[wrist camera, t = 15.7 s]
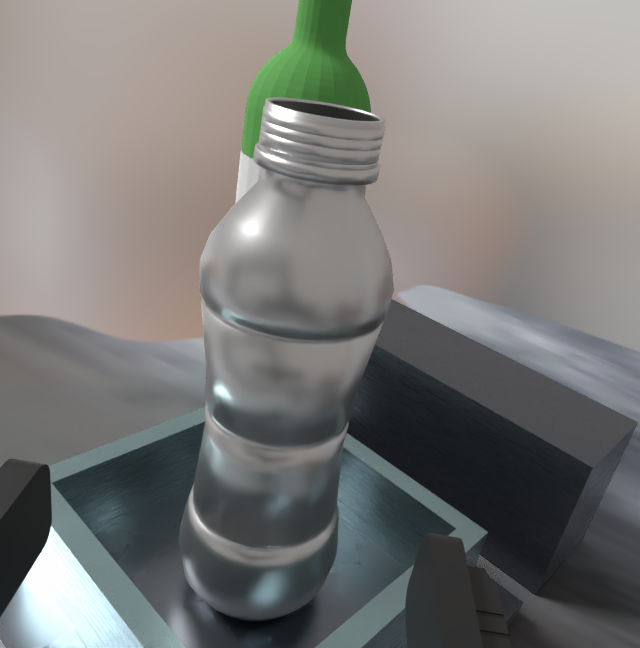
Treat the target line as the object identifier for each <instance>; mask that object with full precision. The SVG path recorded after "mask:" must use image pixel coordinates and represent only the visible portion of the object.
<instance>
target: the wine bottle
mask: <svg viewBox="0 0 640 648" xmlns="http://www.w3.org/2000/svg"><path fill="white" fill-rule="evenodd" d="M351 3H352V0H299V4H298V11H297V18H296V26H295V32H294V36H293V39H292V41H291V43H290V44H289V45H288V46H287V47H286V48H285V49H283V50H282V51H280V52H279V53H277V54H276V55H275V56H273V57H272V58H271V59H270V60H269V61H268V62H267V63H266V64H265V65H264V66H263V67H262V69H261V70H260V71H259V73H258V74H257V76H256V78H255V80H254V82H253V84H252V86H251V89H250V91H249V95H248V98H247V104H246V111H245V120H244V130H243V139H242V149H241V155H240V164H239V165H240V166H239V174H238V183H237V193H236V202H237V201H238V200H239V199H240V198H241V197H242V196H243V195H244V194H245V193H246V192H247V191H248V190H249V189H250V188H251V187H253V186H254V185H255V184H256V183H257V182H258V181H259V177H260V174H261V171H262V167H260V166H259V165H257V164H256V163H255V162H254V160H253V157H254V149H255V145H256V143H258V142H259V137H260V129H261V122H262V114H263V106H265V101H266V99H267V98H274V97H282V98H296V99H305V100H313V101H319V102H325V103H331V104H336V105H342V106H346V107H351V108H355V109H359V110H363V111H367V112H370V113H371V108H370V101H369V95H368V92H367V88H366V86H365V83H364V81H363V79H362V77H361V75H360V73H359V72H358V70H357V68H356V67H355V65H354V64H353V63H352V62H351V60H350V59H349V57H348V56H347V53H346V49H345V48H346V47H345V44H346V35H347V28H348V22H349V16H350V9H351Z"/></svg>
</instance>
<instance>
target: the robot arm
mask: <svg viewBox="0 0 640 648" xmlns="http://www.w3.org/2000/svg"><path fill="white" fill-rule="evenodd" d="M51 524H52V503H51V479H50V469H49V466H48V465H46V464H40V463H35V462H29V461H23V460H17V459H9V460H7V461H6V462H5V463H4V464H3V465H2V466H1V468H0V617H1V616H2V614H3V612H4V611H5V609H6V608H7V606H8V604H9V603H10V601H11V600H12V598H13V596H14V595H15V593H16V592H17V590H18V588H19V587H20V585H21V584H22V582H23V580H24V579H25V577H26V576H27V574H28V572H29V571H30V569H31V568H32V566H33V564H34V563H35V561H36V560H37V558H38V556H39V555H40V553H41V552H42V550H43V548H44V546H45V544H46V542H47V539H48V537H49V533H50V530H51ZM405 617H406V632H407V648H512V645H511V640H510V639H509V632H508V628H507V623H506V619H504V611H503V606H502V602H501V598H500V594H499V590H498V589H497V587H496V586H495V584H494V583H493V581H492V580H491V578H490V577H489V575H488V574H487V572H486V571H485V569H484V568H478V567H473V566H468V565H467V560H466V554H465V549H464V544H463V541H462V539H461V538H458V537H452V536H446V535H440V534H435V533H429V532H426V533H425V534H424V536H423V538H422V541H421V544H420V548H419V551H418V554H417V557H416V560H415V563H414V566H413V570H412V573H411V576H410V579H409V582H408V587H407V593H406V602H405Z"/></svg>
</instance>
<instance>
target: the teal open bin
mask: <svg viewBox="0 0 640 648" xmlns="http://www.w3.org/2000/svg"><path fill="white" fill-rule="evenodd" d="M637 424H638V422H636V421H634V420H632V419H630V418H628V417H626V416H624V415H622V414H620V413H618V412H616V411H614V410H612V409H610V408H608V407H606V406H604V405H602V404H600V403H598V402H596V401H594V400H592V399H590V398H588V397H586V396H584V395H582V394H580V393H578V392H576V391H574V390H572V389H570V388H568V387H566V386H564V385H562V384H560V383H558V382H556V381H554V380H552V379H550V378H548V377H546V376H544V375H542V374H540V373H538V372H536V371H534V370H532V369H530V368H528V367H526V366H524V365H522V364H520V363H518V362H516V361H514V360H512V359H510V358H508V357H506V356H504V355H502V354H500V353H498V352H496V351H494V350H492V349H490V348H488V347H486V346H484V345H482V344H480V343H478V342H476V341H474V340H472V339H470V338H468V337H466V336H464V335H462V334H460V333H458V332H456V331H454V330H452V329H450V328H448V327H446V326H444V325H442V324H440V323H438V322H436V321H434V320H432V319H430V318H428V317H426V316H424V315H422V314H420V313H418V312H416V311H414V310H412V309H410V308H408V307H406V306H404V305H402V304H400V303H398V302H396V301H394V300H392V299H391V302H390V305H389V309H388V312H387V315H386V318H385V320H384V322H383V325H382V327H381V330H380V333H379V335H378V338H377V340H376V343H375V345H374V348H373V351H372V353H371V356H370V358H369V361H368V363H367V366H366V369H365V371H364V374H363V376H362V379H361V382H360V385H359V389H358V393H357V396H356V400H355V404H354V407H353V411H352V414H351V417H350V419H349V426H348V429H347V433H346V436H345V440H344V444H343V451H342V460H341V470H340V479H339V488H338V497H337V503H338V514H339V524H338V544H337V554H336V557H335V560H334V563H333V565H332V567H331V570H330V572H329V574H328V576H327V578H326V580H325V582H324V584H323V586H322V587H321V589H320V590H319V592H318V594H317V595H316V596H315V597H314V598H313V599H312V600H311V601H310V602H309V603H307V604H305V605H304V606H302V607H301V608H299V609H298V610H296V611H293V612H291V613H289V614H287V615H284V616H282V617H279V618H276V619H271V620H266V621H248V620H241V619H236V618H233V617H230V616H227V615H225V614H223V613H221V612H219V611H217V610H215V609H214V608H213V607H212V606H210V605H209V604H208V603H206V602H205V601H204V600H203V599H202V598H200V597H199V596H198V595H197V594H196V592H195V591H194V590H193V589H192V587H191V586H190V584H189V582H188V580H187V578H186V576H185V573H184V568H183V563H182V557H181V551H180V545H179V532H180V526H181V522H182V518H183V514H184V510H185V506H186V503H187V500H188V497H189V495H190V492H191V489H192V486H193V484H194V480H195V475H196V469H197V464H198V459H199V453H200V448H201V443H202V437H203V432H204V427H205V407H203V408H201V409H198V410H195V411H193V412H190V413H187V414H185V415H182V416H179V417H177V418H174V419H172V420H169V421H166V422H164V423H161V424H158V425H156V426H153V427H151V428H148V429H145V430H143V431H140V432H137V433H135V434H132V435H129V436H127V437H124V438H122V439H119V440H116V441H114V442H111V443H108V444H106V445H103V446H100V447H98V448H95V449H93V450H90V451H87V452H85V453H82V454H79V455H77V456H74V457H72V458H69V459H66V460H64V461H61V462H58V463H56V464H53V465H50V466H49V469H50V479H51V503H52V524H51V530H50V533H49V537H48V539H47V542H46V544H45V546H44V548H43V550H42V552H41V553H40V555H39V556H38V558H37V560H36V561H35V563H34V564H33V566H32V568H31V569H30V571H29V572H28V574H27V576H26V577H25V579H24V580H23V582H22V584H21V585H20V587H19V588H18V590H17V592H16V593H15V595H14V596H13V598H12V600H11V601H10V603H9V604H8V606H7V608H6V609H5V611H4V612H3V614H2V616H1V617H0V638H1V640H2V642H3V643H4V645H5V647H6V648H407V632H406V617H405V602H406V593H407V587H408V582H409V579H410V576H411V573H412V570H413V566H414V563H415V560H416V557H417V554H418V551H419V548H420V544H421V541H422V538H423V536H424V534H425V533H426V532H429V533H435V534H440V535H446V536H452V537H458V538H461V539H462V541H463V544H464V549H465V554H466V560H467V565H468V566H473V567H475V566H476V563H477V560H478V558H479V555H482V556H483V557H484V558H486V559H487V560H489V561H490V562H491V563H493V564H494V565H495V566H497V567H498V568H499V569H501V570H502V571H504V572H505V573H506V574H508V575H509V576H510V577H512V578H513V579H515V580H516V581H517V582H519V583H520V584H521V585H523V586H524V587H525V588H527V589H528V590H530V591H531V592H532V593H534V594H535V595H536V593H537V592H538V591H539V590H540V589H541V587H542V586H543V585H544V584H545V583H546V582H547V580H548V579H549V578H550V577H551V576H552V575H553V573H554V572H555V571H556V570H557V569H558V567H559V566H560V565H561V564H562V563H563V562H564V560H565V559H566V558H567V557H568V556H569V554H570V553H571V552H572V551H573V550H574V549H575V547H576V546H577V545H578V544H579V543H580V542H581V540H582V539H583V537H584V535H585V533H586V531H587V529H588V527H589V525H590V523H591V521H592V518H593V516H594V514H595V512H596V510H597V508H598V506H599V504H600V502H601V499H602V497H603V495H604V493H605V491H606V489H607V487H608V485H609V483H610V481H611V478H612V476H613V474H614V472H615V470H616V468H617V466H618V464H619V462H620V459H621V457H622V455H623V453H624V451H625V449H626V447H627V445H628V443H629V440H630V438H631V436H632V434H633V432H634V430H635V428H636V426H637ZM491 580H492V579H491ZM492 581H493V583H494V584H495V586H496V587H497V589H498V590H499V594H500V598H501V602H502V606H503V611H504V619H506V623H507V628H508V626H509V625H510V624H511V623H512V622H513V620H514V619H515V618H516V617H517V615H518V612H519V610H520V608H521V606H522V603H523V602H522V601H520V600H519V599H518V598H516V597H515V596H514V595H512V594H511V593H510V592H508V591H507V590H506V589H504V588H503V587H502V586H500V585H499V584H498V583H496V582H495V581H494V580H492Z"/></svg>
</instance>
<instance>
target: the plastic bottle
mask: <svg viewBox="0 0 640 648" xmlns="http://www.w3.org/2000/svg"><path fill="white" fill-rule="evenodd" d="M385 121H386V120H385V119H384V118H383V117H381V116H379V115H376V114H373V113H370V112H367V111H363V110H359V109H355V108H351V107H346V106H342V105H336V104H331V103H325V102H319V101H313V100H305V99H296V98H282V97H274V98H267V99H266V101H265V106H263V114H262V122H261V129H260V137H259V142H258V143H256V145H255V149H254V157H253V160H254V162H255V163H256V164H257V165H259V166H260V167H262V171H261V174H260V177H259V181H258V182H257V183H256V184H255V185H254V186H253V187H251V188H250V189H249V190H248V191H247V192H246V193H245V194H244V195H243V196H242V197H241V198H240V199H239V200H238V201H237V202H236V203H235V204H234V205H233V206H232V208H231V209H230V210H229V211H228V213H227V214H226V215H225V216H224V217H223V219H222V220H221V221H220V222H219V224H218V225H217V226H216V227H215V229H214V230H213V231H212V232H211V234H210V236H209V239H208V241H207V244H206V246H205V248H204V251H203V253H202V256H201V258H200V292H201V309H202V320H203V333H204V345H205V356H206V395H205V399H206V403H205V427H204V432H203V437H202V443H201V448H200V453H199V459H198V464H197V469H196V475H195V480H194V484H193V486H192V489H191V492H190V495H189V497H188V500H187V503H186V506H185V510H184V514H183V518H182V522H181V526H180V532H179V545H180V551H181V557H182V563H183V568H184V573H185V576H186V578H187V580H188V582H189V584H190V586H191V587H192V589H193V590H194V591H195V592H196V594H197V595H198V596H199V597H200V598H202V599H203V600H204V601H205V602H206V603H208V604H209V605H210V606H212V607H213V608H214V609H215V610H217V611H219V612H221V613H223V614H225V615H227V616H230V617H233V618H236V619H241V620H248V621H266V620H271V619H276V618H279V617H282V616H284V615H287V614H289V613H291V612H293V611H296V610H298V609H299V608H301V607H302V606H304V605H305V604H307V603H309V602H310V601H311V600H312V599H313V598H314V597H315V596H316V595H317V594H318V592H319V590H320V589H321V587H322V586H323V584H324V582H325V580H326V578H327V576H328V574H329V572H330V570H331V567H332V565H333V563H334V560H335V557H336V554H337V544H338V524H339V514H338V503H337V497H338V488H339V479H340V470H341V460H342V451H343V444H344V440H345V436H346V433H347V429H348V426H349V419H350V417H351V414H352V411H353V407H354V404H355V400H356V396H357V393H358V389H359V385H360V382H361V379H362V376H363V374H364V371H365V369H366V366H367V363H368V361H369V358H370V356H371V353H372V351H373V348H374V345H375V343H376V340H377V338H378V335H379V333H380V330H381V327H382V325H383V322H384V320H385V318H386V315H387V312H388V309H389V305H390V302H391V299H392V295H393V292H394V286H393V273H392V263H391V258H390V255H389V252H388V249H387V246H386V244H385V241H384V238H383V235H382V232H381V230H380V228H379V226H378V224H377V222H376V219H375V217H374V215H373V213H372V211H371V209H370V207H369V205H368V203H367V201H366V198H365V190H366V185H367V184H372V183H374V182H376V181H377V179H378V174H379V170H380V164H379V163H378V159H379V155H380V150H381V145H382V140H383V136H384V132H385V126H384V125H385Z"/></svg>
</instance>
